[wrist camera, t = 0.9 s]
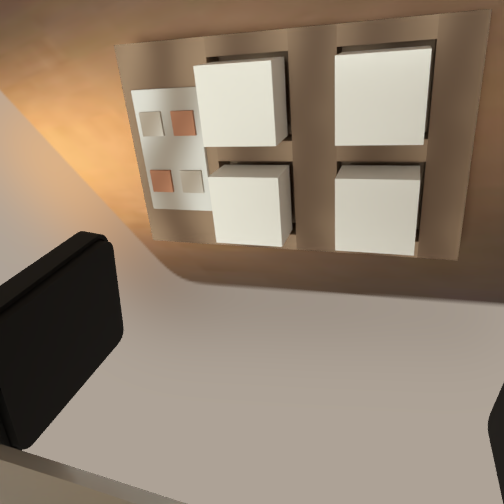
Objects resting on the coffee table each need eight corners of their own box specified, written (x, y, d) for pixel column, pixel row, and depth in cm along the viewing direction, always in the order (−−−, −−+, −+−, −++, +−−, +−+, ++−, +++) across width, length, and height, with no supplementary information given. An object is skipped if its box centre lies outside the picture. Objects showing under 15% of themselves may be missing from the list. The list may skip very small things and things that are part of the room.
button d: (289, 164, 29) (277, 177, 26) (292, 229, 31) (282, 246, 28) (224, 164, 30) (207, 176, 28) (231, 226, 32) (216, 242, 30)
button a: (430, 45, 23) (431, 48, 21) (422, 133, 25) (423, 144, 23) (342, 52, 25) (334, 55, 22) (342, 134, 27) (334, 145, 25)
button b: (420, 165, 26) (420, 180, 24) (413, 235, 28) (413, 255, 26) (341, 165, 28) (334, 178, 25) (341, 232, 30) (335, 250, 27)
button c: (283, 56, 26) (270, 60, 24) (287, 135, 28) (276, 146, 26) (212, 61, 27) (193, 65, 25) (220, 136, 29) (203, 146, 27)
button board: (484, 9, 24) (493, 8, 21) (454, 240, 30) (458, 264, 27) (138, 43, 31) (109, 45, 28) (170, 225, 37) (149, 242, 34)
